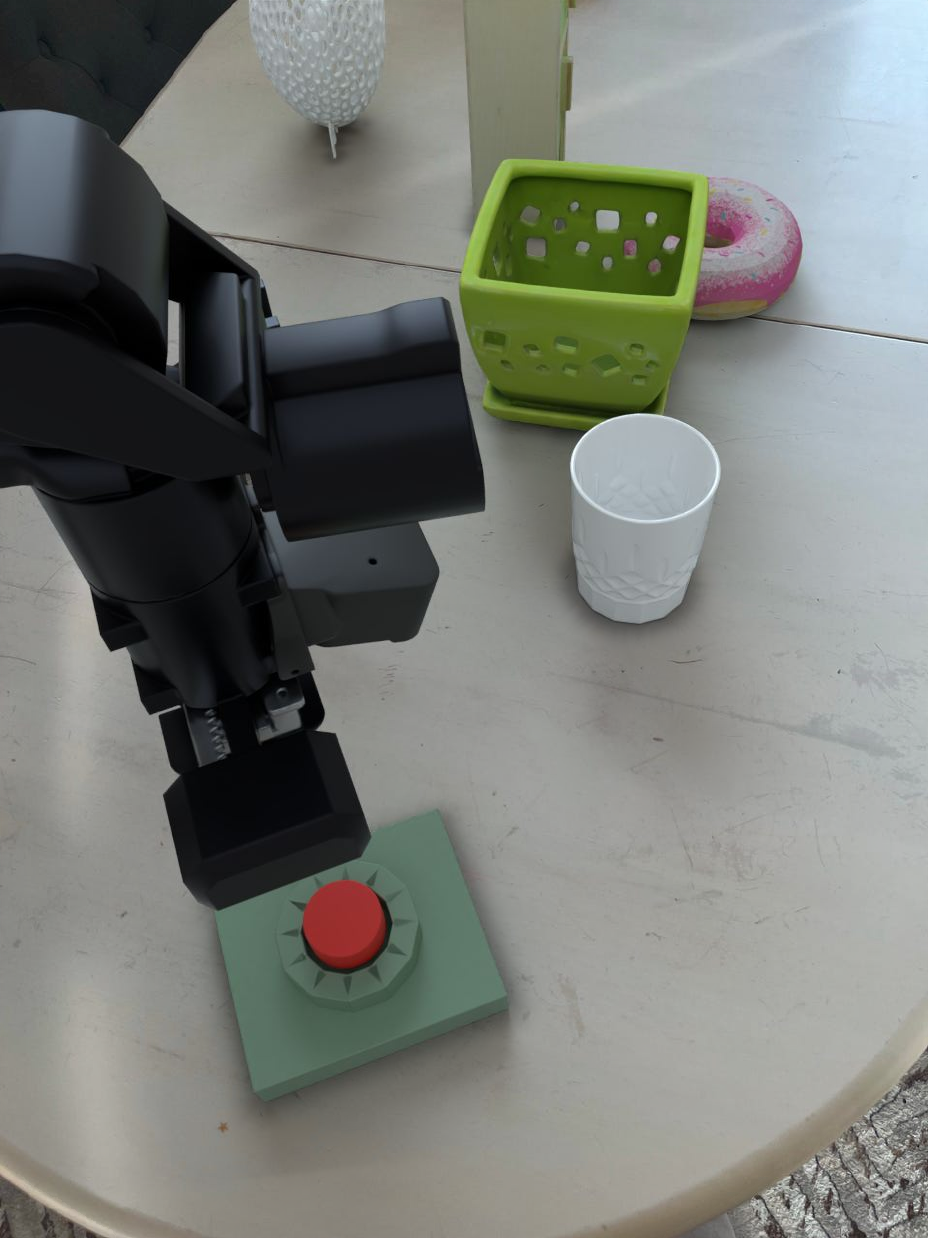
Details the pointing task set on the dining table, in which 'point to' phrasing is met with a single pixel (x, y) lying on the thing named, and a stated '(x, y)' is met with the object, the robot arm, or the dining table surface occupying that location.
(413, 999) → the button housing
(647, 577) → the white cup
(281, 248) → the dining table surface
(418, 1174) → the dining table surface
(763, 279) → the donut
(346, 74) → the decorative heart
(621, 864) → the dining table surface
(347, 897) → the button
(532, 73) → the toy refrigerator
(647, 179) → the flower pot
